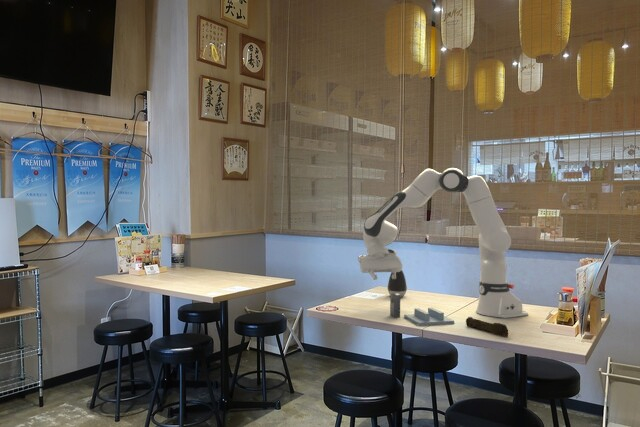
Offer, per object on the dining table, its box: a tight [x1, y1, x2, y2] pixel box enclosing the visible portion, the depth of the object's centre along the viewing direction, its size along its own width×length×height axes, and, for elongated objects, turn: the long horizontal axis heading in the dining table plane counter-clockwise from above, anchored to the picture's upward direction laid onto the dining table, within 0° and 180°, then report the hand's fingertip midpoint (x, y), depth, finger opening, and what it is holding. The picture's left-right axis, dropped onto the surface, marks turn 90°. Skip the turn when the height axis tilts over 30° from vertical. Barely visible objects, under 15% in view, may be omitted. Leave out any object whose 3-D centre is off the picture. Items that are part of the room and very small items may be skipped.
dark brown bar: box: [465, 316, 509, 338], centre depth 185 cm, size 19×4×5 cm, turn 28°
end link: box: [389, 293, 401, 318], centre depth 208 cm, size 3×4×10 cm
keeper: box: [404, 307, 455, 327], centre depth 201 cm, size 16×14×4 cm
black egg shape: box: [386, 269, 408, 298], centre depth 253 cm, size 10×10×15 cm
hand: (385, 278), depth 220 cm, fingers open, 8 cm apart
